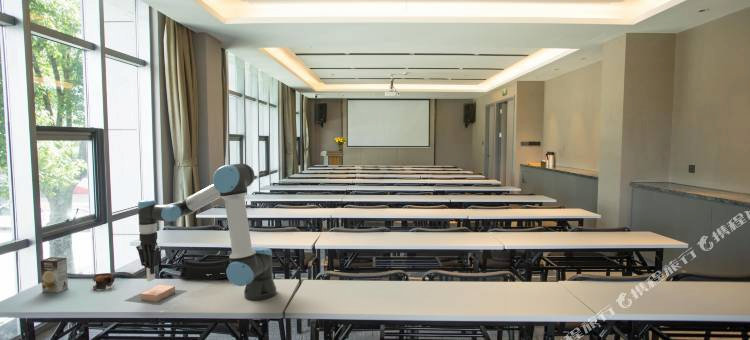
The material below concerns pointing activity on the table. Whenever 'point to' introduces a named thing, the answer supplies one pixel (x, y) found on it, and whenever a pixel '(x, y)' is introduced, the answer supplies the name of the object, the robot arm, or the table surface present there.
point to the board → (157, 293)
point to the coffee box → (54, 274)
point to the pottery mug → (103, 281)
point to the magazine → (204, 270)
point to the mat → (138, 300)
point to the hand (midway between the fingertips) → (150, 280)
